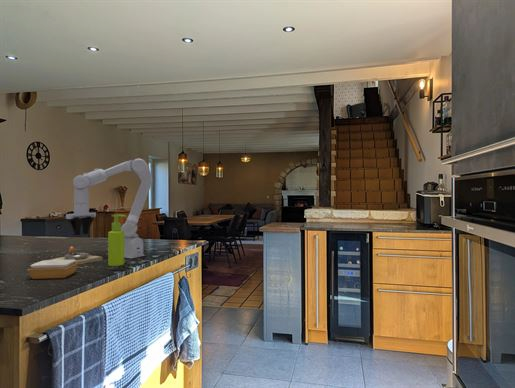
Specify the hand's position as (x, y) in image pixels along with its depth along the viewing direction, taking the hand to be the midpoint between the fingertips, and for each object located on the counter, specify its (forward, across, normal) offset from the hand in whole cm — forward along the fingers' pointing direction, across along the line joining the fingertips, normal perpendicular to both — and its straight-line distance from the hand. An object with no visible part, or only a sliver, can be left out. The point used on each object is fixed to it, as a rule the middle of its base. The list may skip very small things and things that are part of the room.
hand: (81, 234), depth 151 cm
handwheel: (+9, +5, +2) cm, 11 cm away
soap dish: (+11, +28, +16) cm, 34 cm away
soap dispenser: (+11, +6, +24) cm, 27 cm away
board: (+10, +5, +2) cm, 12 cm away
